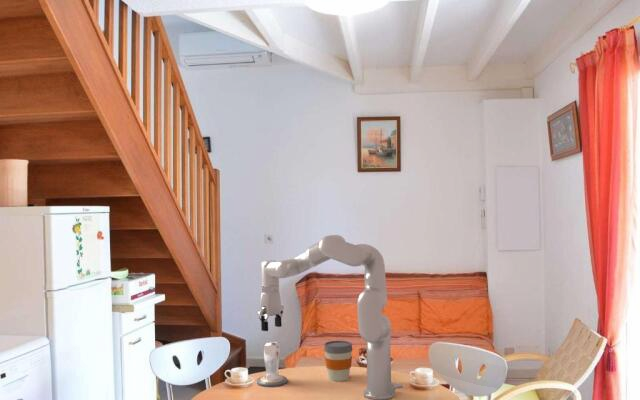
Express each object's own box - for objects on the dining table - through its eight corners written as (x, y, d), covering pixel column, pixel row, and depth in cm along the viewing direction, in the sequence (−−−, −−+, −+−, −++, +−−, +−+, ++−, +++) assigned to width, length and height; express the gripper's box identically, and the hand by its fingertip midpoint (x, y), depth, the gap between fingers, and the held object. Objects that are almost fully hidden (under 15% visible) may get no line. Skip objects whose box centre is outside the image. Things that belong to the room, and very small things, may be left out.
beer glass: (277, 381, 211) (277, 345, 211) (261, 380, 212) (261, 345, 213) (282, 376, 217) (281, 342, 218) (267, 376, 219) (266, 341, 220)
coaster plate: (283, 376, 223) (283, 372, 223) (290, 384, 211) (289, 381, 211) (254, 379, 219) (254, 375, 219) (259, 388, 207) (259, 384, 207)
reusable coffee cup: (321, 381, 214) (320, 346, 215) (329, 373, 226) (328, 339, 227) (349, 383, 211) (348, 347, 212) (355, 374, 223) (355, 341, 224)
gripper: (275, 286, 226) (276, 324, 225) (251, 291, 212) (252, 331, 211) (288, 287, 223) (290, 325, 222) (265, 291, 208) (266, 333, 207)
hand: (271, 328), depth 216 cm, fingers open, 9 cm apart
